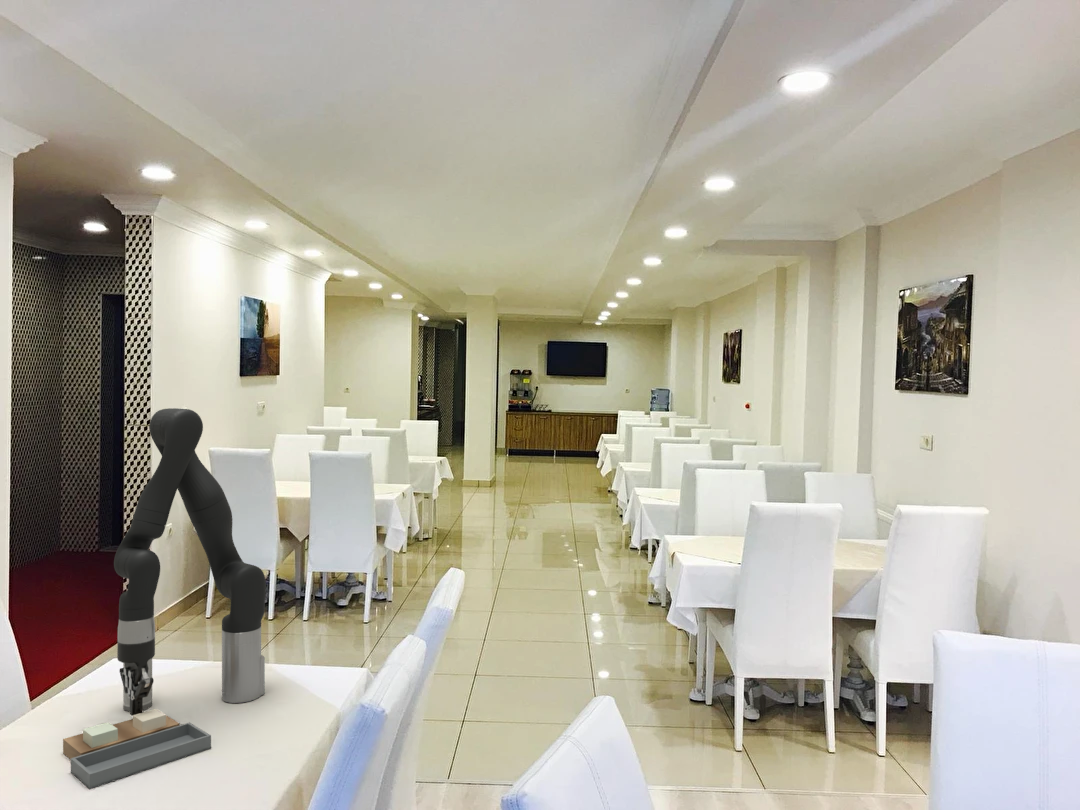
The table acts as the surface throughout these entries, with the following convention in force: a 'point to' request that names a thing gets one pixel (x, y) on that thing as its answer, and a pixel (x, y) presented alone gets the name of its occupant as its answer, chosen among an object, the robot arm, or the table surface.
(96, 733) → the tile
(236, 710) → the table surface
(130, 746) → the tray
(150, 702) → the travel mug
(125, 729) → the walnut board
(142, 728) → the tile
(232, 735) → the table surface
